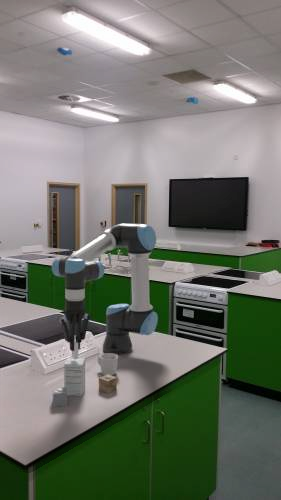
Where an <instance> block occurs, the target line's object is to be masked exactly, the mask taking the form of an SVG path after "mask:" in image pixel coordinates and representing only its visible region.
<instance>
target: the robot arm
mask: <svg viewBox="0 0 281 500" xmlns="http://www.w3.org/2000/svg"><path fill="white" fill-rule="evenodd" d="M156 244H157V235H156V231H155V229H154V227H152V226H151V225H150V224H144V223H118V224H116V225H113V226H111V227H108V228H107V229H105V230H103V231H102V232H100V233H99V236H98V237H96V238H95V239H94V240H92V241H90V242H89V243H86V244H85V245H83V247H81V248H79V249H78V250H76V251H74V252H73V253H72V254H70V255H68V256H67V257H66V258H55V259H54V260H53V262H52V264H51V271H52V273H53V275H54V276H56V277H59V278H60V277H61V278H65V279H64V281H65V282H64V284H65V285H64V286H65V287H64V289H65V291H64V293H65V295H64V298H65V301H64V303H65V306H64V314H63V316H62V317H59V318H58V321H59V323H60V324H61V329H62V333H63V337H64V341H65V342H67V343H69V350H70V351H71V358H73V359H78V358H79V350H81V343H82V341H83V340H85V338H86V334H87V331H88V326H89V322H90V319H91V318H92V315H90V314H88V313H87V312H86V311H85V306H86V300H85V298H86V296H85V295H86V293H85V291H86V284H85V283H86V282H91V281H96V280H98V279H101V278H102V277H103V276H104V274H105V266H104V263H102V262H101V261H100V260H96V259H97V258H99V257H100V256H101V255H103V254H104V253H106V252H107V251H112V250H114V249H116V248H125V249H126V248H127V249H126V251H127V254H128V255H129V256H130V274H131V275H130V277H131V278H130V280H131V282H130V284H131V305H130V304H128V303H117V304H111V305H109V306H108V307H107V308H106V312H105V313H106V314H105V317H106V318H105V321H106V322H105V324H106V326H105V327H106V328H105V329H106V330H105V331H106V332H105V337H104V341H103V344H102V351H103V352H104V353H105V354H106V353H113V354H116V355H124V354H128V353H131V352H132V351H133V344H132V340H131V336H130V333H132V334H137V335H141V336H151V334H153V333H154V332H155V330H156V328H157V325H158V319H159V317H158V313H157V312H155V311H154V307H153V305H152V304H151V303H150V301H151V300H150V273H149V272H150V266H149V265H150V262H149V261H150V260H149V257H150V255H151V254H152V252H153V249H155V247H156ZM67 321H68V324H67ZM68 325H69V326H68Z"/></svg>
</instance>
